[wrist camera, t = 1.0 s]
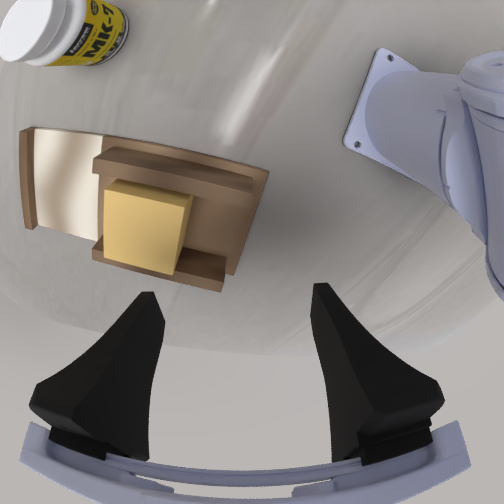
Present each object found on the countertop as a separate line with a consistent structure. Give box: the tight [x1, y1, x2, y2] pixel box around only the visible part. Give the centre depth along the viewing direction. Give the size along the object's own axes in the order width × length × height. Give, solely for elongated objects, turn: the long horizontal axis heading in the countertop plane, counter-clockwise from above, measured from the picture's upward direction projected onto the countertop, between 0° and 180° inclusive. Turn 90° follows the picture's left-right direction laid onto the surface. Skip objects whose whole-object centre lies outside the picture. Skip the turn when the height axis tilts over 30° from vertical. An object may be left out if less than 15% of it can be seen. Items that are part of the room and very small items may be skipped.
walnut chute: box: [19, 127, 269, 292], centre depth 17 cm, size 20×9×4 cm, turn 73°
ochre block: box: [103, 178, 194, 275], centre depth 17 cm, size 5×5×4 cm
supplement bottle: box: [0, 0, 128, 67], centre depth 8 cm, size 5×5×8 cm
